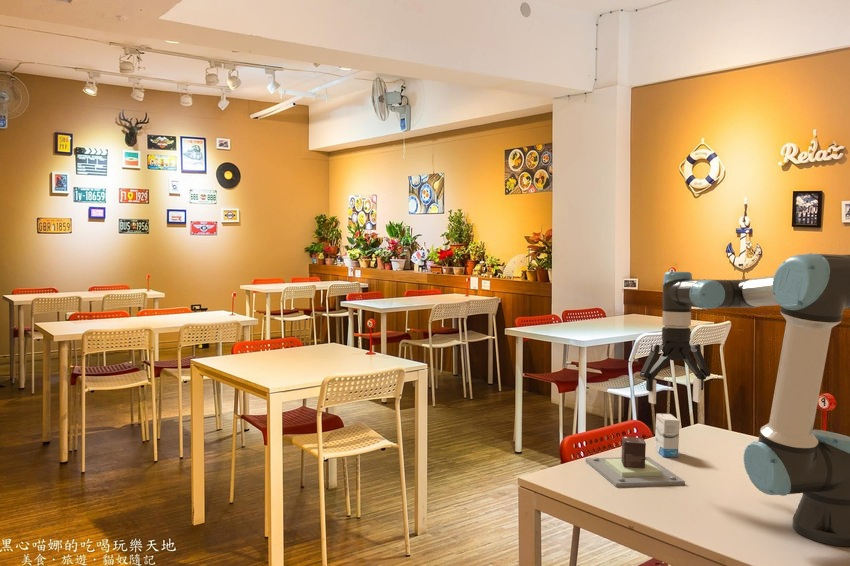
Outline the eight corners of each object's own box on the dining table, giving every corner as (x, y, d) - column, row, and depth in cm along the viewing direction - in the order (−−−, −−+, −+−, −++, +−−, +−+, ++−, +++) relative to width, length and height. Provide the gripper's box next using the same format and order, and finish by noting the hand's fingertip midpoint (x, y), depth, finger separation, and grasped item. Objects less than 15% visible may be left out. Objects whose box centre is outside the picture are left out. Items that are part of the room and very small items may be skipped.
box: (645, 469, 200) (646, 443, 199) (623, 467, 201) (624, 442, 200) (642, 462, 206) (643, 437, 205) (620, 460, 207) (621, 436, 206)
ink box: (678, 457, 218) (680, 420, 218) (662, 457, 218) (664, 419, 218) (669, 449, 227) (671, 413, 226) (654, 449, 227) (655, 413, 226)
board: (684, 484, 194) (685, 476, 194) (615, 486, 191) (616, 479, 191) (648, 459, 215) (648, 452, 215) (585, 461, 212) (585, 454, 212)
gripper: (709, 325, 203) (707, 398, 204) (628, 325, 198) (626, 400, 199) (724, 327, 196) (722, 403, 196) (641, 328, 191) (639, 406, 192)
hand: (674, 402), depth 198 cm, fingers open, 13 cm apart
